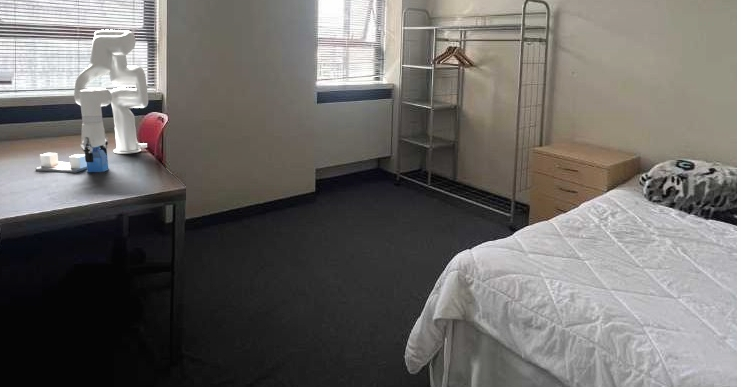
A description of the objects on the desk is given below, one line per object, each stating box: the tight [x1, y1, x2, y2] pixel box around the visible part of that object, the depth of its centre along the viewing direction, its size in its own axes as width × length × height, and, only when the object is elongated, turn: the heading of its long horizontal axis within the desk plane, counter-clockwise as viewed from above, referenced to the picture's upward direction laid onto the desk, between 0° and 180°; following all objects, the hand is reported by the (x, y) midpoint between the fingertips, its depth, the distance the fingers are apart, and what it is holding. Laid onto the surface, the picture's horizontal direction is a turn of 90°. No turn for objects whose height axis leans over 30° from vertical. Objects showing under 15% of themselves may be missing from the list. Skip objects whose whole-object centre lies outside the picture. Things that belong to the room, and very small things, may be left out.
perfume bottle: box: [86, 146, 109, 173], centre depth 228 cm, size 6×6×12 cm
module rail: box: [34, 152, 87, 174], centre depth 231 cm, size 18×12×6 cm, turn 83°
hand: (96, 159), depth 228 cm, fingers open, 9 cm apart
